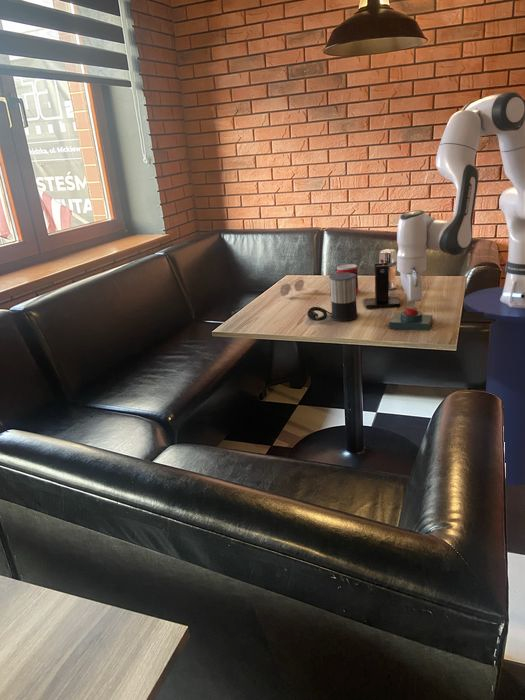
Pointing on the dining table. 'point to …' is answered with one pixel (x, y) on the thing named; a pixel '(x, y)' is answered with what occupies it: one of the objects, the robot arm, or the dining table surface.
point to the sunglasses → (286, 288)
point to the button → (411, 311)
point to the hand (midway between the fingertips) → (411, 307)
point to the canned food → (349, 271)
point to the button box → (411, 321)
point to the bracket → (381, 289)
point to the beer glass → (388, 257)
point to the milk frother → (339, 299)
